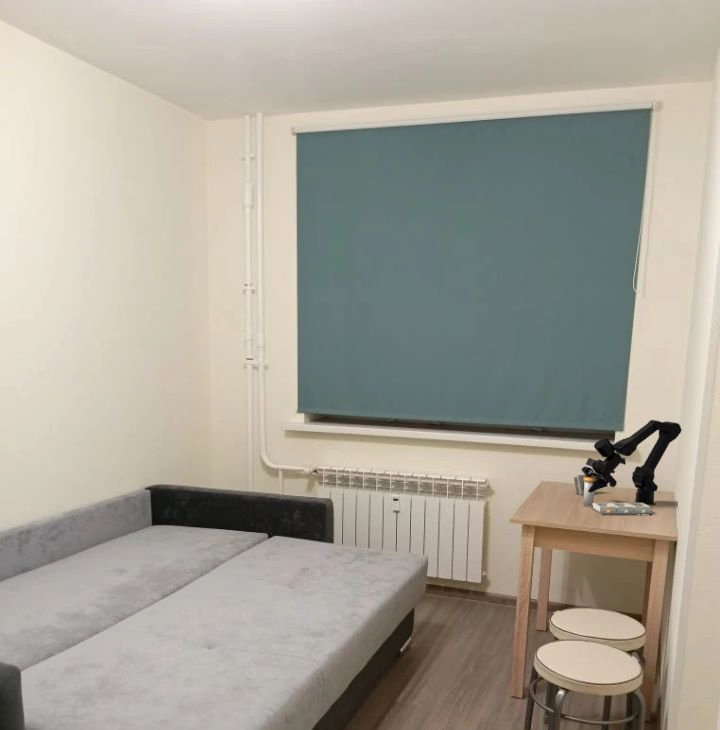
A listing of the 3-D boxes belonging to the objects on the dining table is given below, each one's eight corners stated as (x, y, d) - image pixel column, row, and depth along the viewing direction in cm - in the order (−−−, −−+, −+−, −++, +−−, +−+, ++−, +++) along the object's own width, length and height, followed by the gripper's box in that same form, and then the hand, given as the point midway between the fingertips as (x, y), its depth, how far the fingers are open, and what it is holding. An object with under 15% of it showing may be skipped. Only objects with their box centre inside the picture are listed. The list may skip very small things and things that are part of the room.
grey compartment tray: (641, 508, 282) (641, 502, 281) (654, 515, 272) (654, 508, 272) (591, 509, 280) (591, 502, 280) (602, 515, 270) (602, 508, 270)
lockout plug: (591, 504, 288) (592, 477, 287) (595, 507, 283) (596, 479, 283) (580, 504, 287) (581, 477, 287) (585, 507, 283) (586, 479, 282)
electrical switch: (581, 496, 304) (580, 475, 304) (573, 494, 309) (572, 474, 309) (596, 494, 308) (595, 474, 309) (588, 493, 313) (587, 473, 313)
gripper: (585, 448, 294) (562, 473, 292) (611, 455, 276) (587, 482, 274) (600, 465, 297) (578, 490, 294) (627, 473, 279) (603, 500, 276)
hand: (585, 490), depth 285 cm, fingers closed on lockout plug, 4 cm apart
